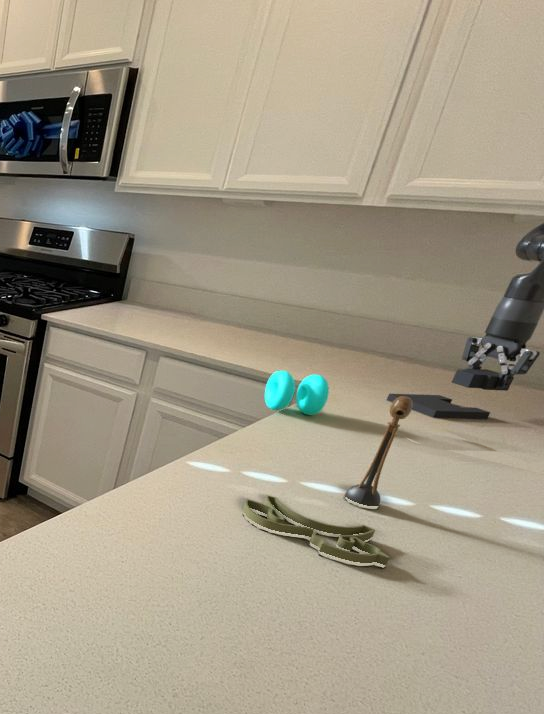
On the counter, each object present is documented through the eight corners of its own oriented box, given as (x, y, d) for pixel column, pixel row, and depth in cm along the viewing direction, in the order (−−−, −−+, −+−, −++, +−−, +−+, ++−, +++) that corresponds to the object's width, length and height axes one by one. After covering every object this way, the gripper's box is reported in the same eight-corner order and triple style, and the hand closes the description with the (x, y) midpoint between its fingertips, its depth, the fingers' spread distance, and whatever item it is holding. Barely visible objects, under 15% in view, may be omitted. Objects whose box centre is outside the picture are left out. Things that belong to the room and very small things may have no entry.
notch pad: (434, 407, 153) (439, 395, 152) (484, 425, 142) (490, 412, 141) (383, 406, 153) (389, 393, 151) (430, 424, 141) (436, 410, 140)
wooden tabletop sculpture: (375, 515, 99) (423, 405, 92) (340, 503, 102) (384, 396, 95) (379, 503, 102) (425, 397, 95) (345, 493, 105) (388, 389, 98)
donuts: (321, 421, 139) (336, 382, 136) (272, 414, 142) (286, 376, 139) (304, 407, 148) (317, 370, 145) (258, 401, 151) (270, 365, 148)
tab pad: (481, 382, 148) (487, 369, 147) (507, 390, 143) (514, 377, 141) (446, 381, 148) (452, 368, 147) (472, 389, 142) (478, 375, 141)
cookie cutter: (386, 544, 90) (391, 533, 89) (383, 578, 82) (388, 566, 81) (249, 499, 102) (252, 489, 101) (234, 525, 93) (237, 514, 93)
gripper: (567, 325, 133) (531, 394, 139) (496, 312, 146) (467, 375, 152) (536, 324, 132) (502, 393, 138) (468, 310, 146) (440, 374, 152)
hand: (483, 383), depth 145 cm, fingers closed on tab pad, 6 cm apart
